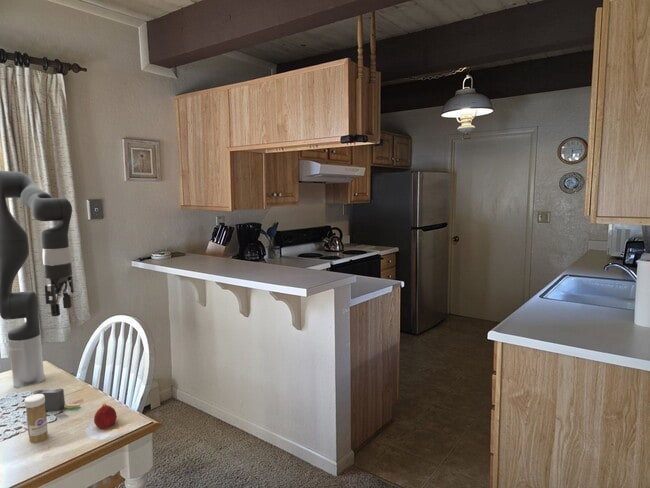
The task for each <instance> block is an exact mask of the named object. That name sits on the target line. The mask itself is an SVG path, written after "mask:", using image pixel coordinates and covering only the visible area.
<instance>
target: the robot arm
mask: <svg viewBox="0 0 650 488" xmlns="http://www.w3.org/2000/svg"><path fill="white" fill-rule="evenodd" d="M7 199H20V201H21V202H22V204H23V205H24V206H25V207H26V208H28V209H29V210H30V211H31V213H32V217H33V218H34V219H35V220H36V221H38V222H55V221H56V223H55V225H54V226H52V227H50V228H46V229H43V230H42V231H41V234H40V235H41V236H40V237H41V247H42V257H41V258H42V266H43V267H42V268H43V275H44V278H45V279H46V280H47V279H48V280H50V281H49V284H44V296H45V304H46V305H50V312H51V313H50V315H51V316H52V317H59V316H60V315H61V308H60V307H61V306H60V300H61V298H62V305H63V309H71V308H72V296H73V294H74V293H75V289H74V281H73V276H72V275H73V268H72V267H73V266H72V257H71V249H70V243H69V228H70V223H71V219H72V215H73V206H72V204H71V202H70V201H69V199H67V198H65V197H53V196H52V195H50V194H49V193H48V192H46V191H44V190H43V189H41V188H39V187H38V186H37V185H36V183H35V182H34V181H33V180H32V178H31V177H30V176H29V175H27V174H26V173H24V172H22V171H12V170H10V171H9V170H0V318H1V319H2V320H5V321H7V320H8V321H10V320H17V319H19V320H20V319H25V320H26V321H24V322H23V323H22V324H20V325H17V326H15V327H13V328H10V330H9V331H7V339H8V341H7V342H8V348H9V355H10V356H9V357H10V365H11V373H12V382H13V383H12V384H13V387H14V388H17V389H20V388H24V387H28V386H32V385H36V384H40V383H43V382H44V381H45V369H44V360H43V351H42V349H43V348H42V343H41V342H42V341H41V340H42V339H41V332H40V319H39V318H40V316H39V299H38V296H37V293H36V292H35V291H33V290H30V291H29V290H27V291H16V292H13V284H14V281H15V279H16V278H17V277H16V276H17V274H18V273H19V271H20V270H21V268H23V266H24V264H25V262H26V261H27V259H28V257H29V255H30V246H29V245H30V244H29V236H28V233H27V231H26V230H25V229H24V228H23V226H22V225H21V224H20V223H19V222H18V220H17V219H16V218H15V217H14V215H13V214H12V212H11V210H10V209H9V207H8V203H7Z"/></svg>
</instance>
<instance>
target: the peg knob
mask: <svg viewBox="0 0 650 488" xmlns="http://www.w3.org/2000/svg"><path fill="white" fill-rule="evenodd" d="M34 394H43V395H44V396H45V411H46V413H47V412H56V411H57V412H59V411H64V410H66V408H69V407H81V403H78V404H71V405H69V404H66V401H65V390H64V388H49V389H38V390H35V391H33V393H32V395H34Z"/></svg>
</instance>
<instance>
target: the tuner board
mask: <svg viewBox="0 0 650 488" xmlns="http://www.w3.org/2000/svg"><path fill="white" fill-rule="evenodd" d="M84 402H85V401H84V398H81V399H79V400H75V401H72V402H71V401H70V402H68V405H71V404H81V403H84ZM80 409H82V406H80V407H68V408H67V409H66V408H65V409H64V411H65V412H77V411H78V412H79V411H80ZM69 416H70V415H68V414H66V413H64V412H60V413H58V414H55V415H54V417H56V418H58V419H60V420H64V419H66V418H68V417H69Z"/></svg>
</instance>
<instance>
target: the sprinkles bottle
mask: <svg viewBox="0 0 650 488" xmlns="http://www.w3.org/2000/svg"><path fill="white" fill-rule="evenodd" d="M24 407H25V410H26V423H27V433H28V439H29V442H30V443H31V444H36V443H40V442H43V441H45V440H46V439H47V438H48V437H49V431H48V421H47V419H48V418H47V412H46V411H45V396H44V395H43V394H34V395H33V394H31V395H29V396H27V397H26V398H25V399H24Z"/></svg>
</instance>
